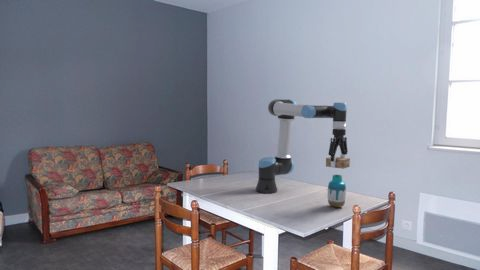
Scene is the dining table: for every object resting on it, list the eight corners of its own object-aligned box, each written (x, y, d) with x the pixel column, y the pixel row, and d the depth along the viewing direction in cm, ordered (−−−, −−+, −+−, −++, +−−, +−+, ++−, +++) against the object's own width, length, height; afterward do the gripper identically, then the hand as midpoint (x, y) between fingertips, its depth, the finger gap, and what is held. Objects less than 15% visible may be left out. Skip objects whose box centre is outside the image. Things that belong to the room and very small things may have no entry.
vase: (347, 206, 220) (348, 175, 218) (342, 210, 210) (343, 177, 209) (330, 203, 225) (331, 173, 223) (324, 207, 216) (326, 175, 214)
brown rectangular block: (325, 166, 216) (326, 158, 215) (332, 164, 223) (332, 156, 222) (343, 168, 209) (343, 160, 208) (349, 166, 216) (349, 158, 215)
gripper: (334, 129, 203) (332, 168, 205) (354, 128, 218) (353, 164, 220) (322, 128, 209) (321, 167, 211) (343, 127, 224) (342, 163, 226)
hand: (337, 165), depth 216 cm, fingers closed on brown rectangular block, 9 cm apart
